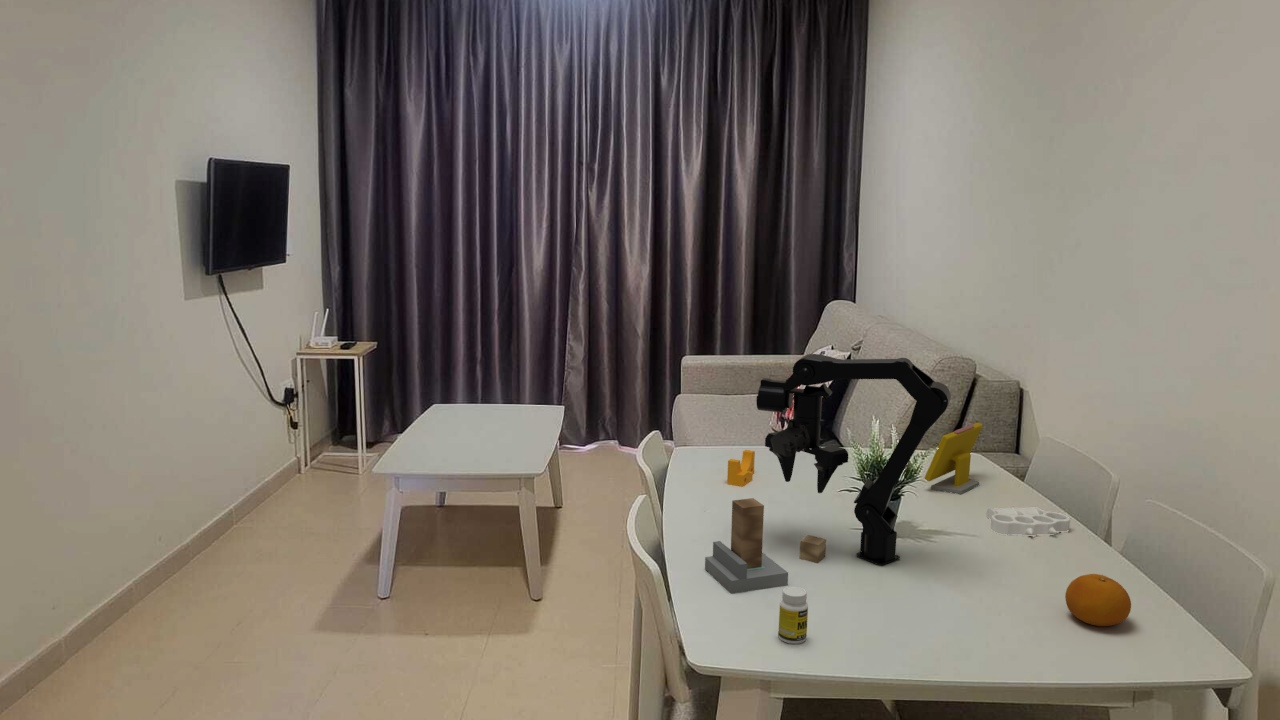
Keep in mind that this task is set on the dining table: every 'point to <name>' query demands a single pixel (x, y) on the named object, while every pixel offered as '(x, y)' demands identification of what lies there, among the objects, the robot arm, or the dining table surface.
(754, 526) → the walnut pillar
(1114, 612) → the fruit
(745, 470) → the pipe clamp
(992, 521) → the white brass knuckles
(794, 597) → the supplement bottle
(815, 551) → the oak block
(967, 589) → the dining table surface
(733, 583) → the base slab
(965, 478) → the yellow framed monitor
